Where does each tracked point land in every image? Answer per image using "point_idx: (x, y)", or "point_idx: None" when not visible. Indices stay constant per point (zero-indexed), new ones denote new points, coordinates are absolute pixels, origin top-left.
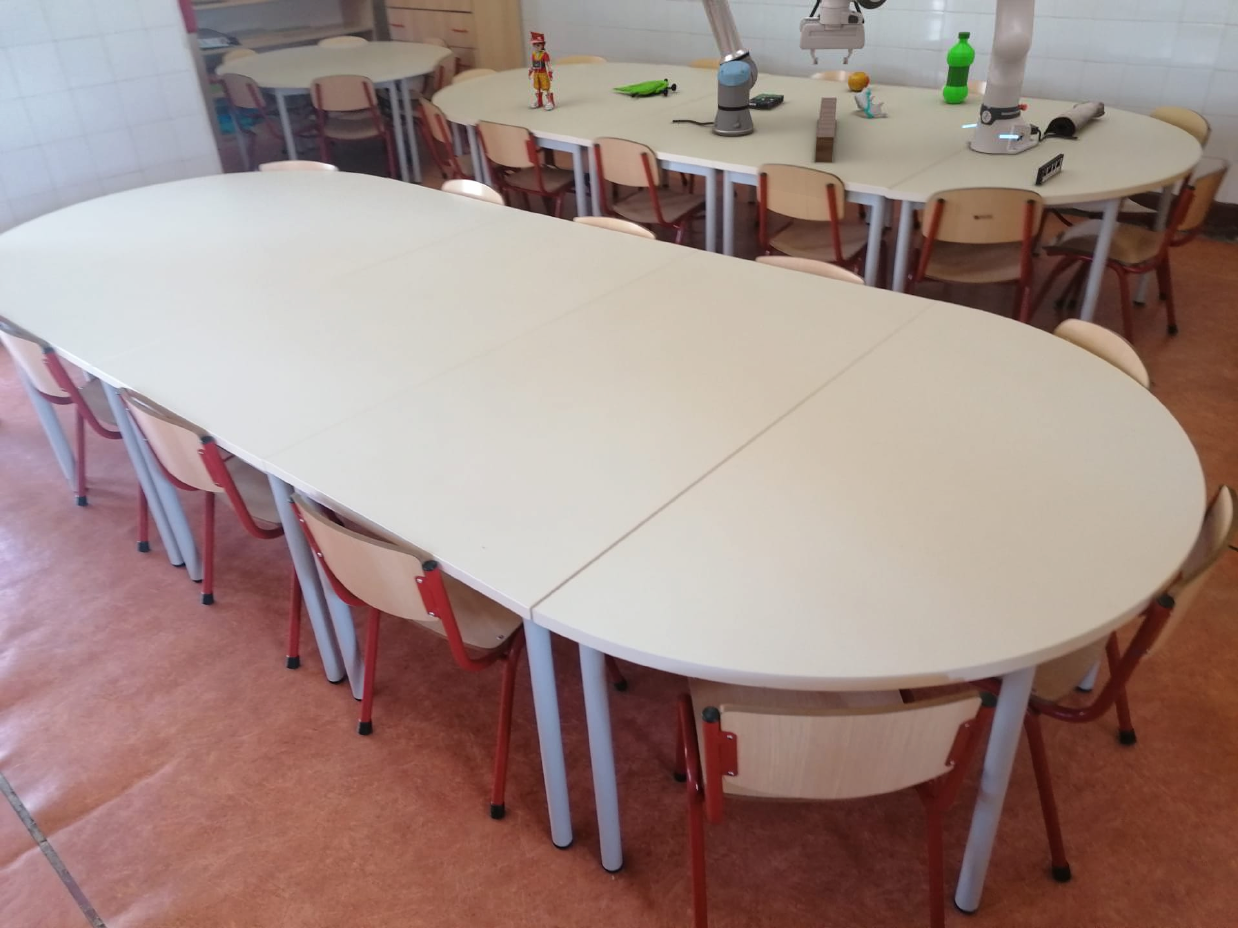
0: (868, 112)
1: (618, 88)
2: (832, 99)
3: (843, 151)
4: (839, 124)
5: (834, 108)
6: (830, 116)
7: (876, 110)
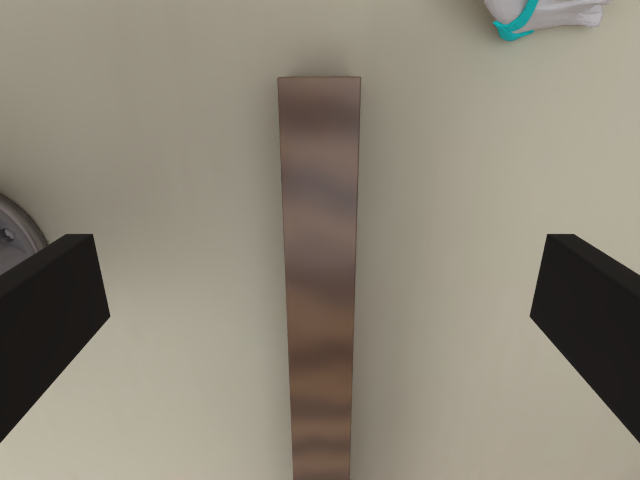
0: (511, 36)
1: None
2: (337, 123)
3: (374, 438)
4: (370, 142)
5: (347, 294)
6: (332, 402)
7: (555, 20)
